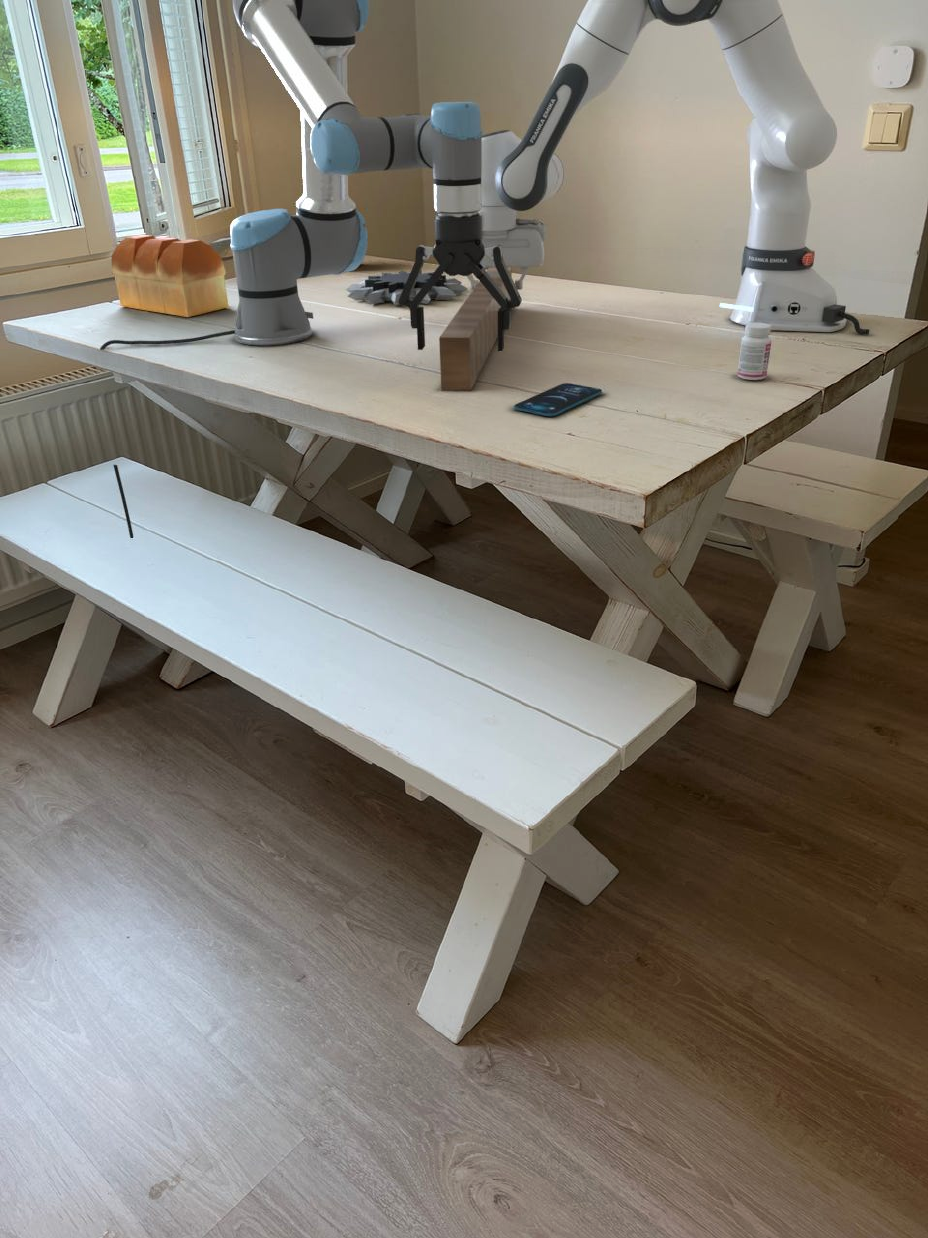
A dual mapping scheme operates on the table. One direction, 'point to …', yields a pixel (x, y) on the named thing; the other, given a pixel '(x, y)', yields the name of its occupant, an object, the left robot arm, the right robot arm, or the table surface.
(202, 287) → the bread
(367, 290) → the decorative piece
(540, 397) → the smartphone
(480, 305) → the beam
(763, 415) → the table surface
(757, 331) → the pill bottle
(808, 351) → the table surface
